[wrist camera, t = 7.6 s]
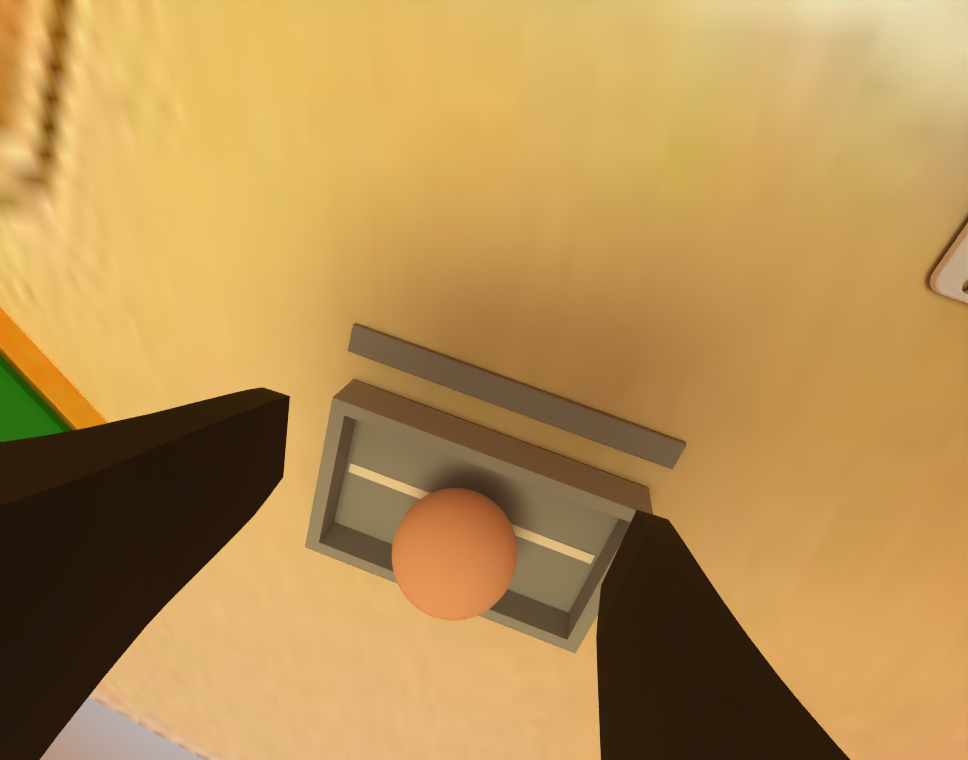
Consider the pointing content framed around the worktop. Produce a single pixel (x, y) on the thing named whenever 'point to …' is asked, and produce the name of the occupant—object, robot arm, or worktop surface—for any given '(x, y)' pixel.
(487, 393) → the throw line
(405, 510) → the tray
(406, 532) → the ball
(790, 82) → the worktop surface
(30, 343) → the dish sponge
